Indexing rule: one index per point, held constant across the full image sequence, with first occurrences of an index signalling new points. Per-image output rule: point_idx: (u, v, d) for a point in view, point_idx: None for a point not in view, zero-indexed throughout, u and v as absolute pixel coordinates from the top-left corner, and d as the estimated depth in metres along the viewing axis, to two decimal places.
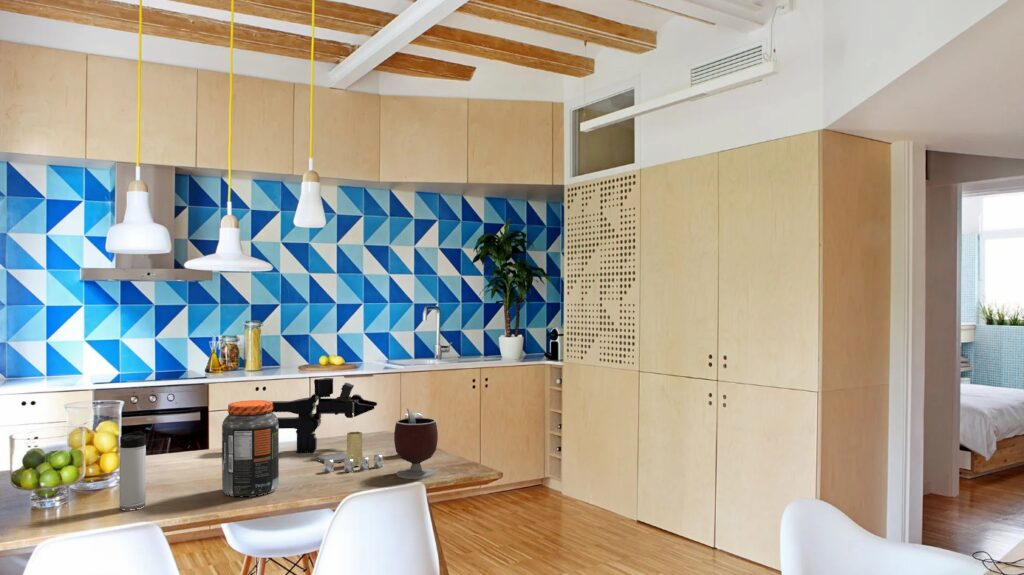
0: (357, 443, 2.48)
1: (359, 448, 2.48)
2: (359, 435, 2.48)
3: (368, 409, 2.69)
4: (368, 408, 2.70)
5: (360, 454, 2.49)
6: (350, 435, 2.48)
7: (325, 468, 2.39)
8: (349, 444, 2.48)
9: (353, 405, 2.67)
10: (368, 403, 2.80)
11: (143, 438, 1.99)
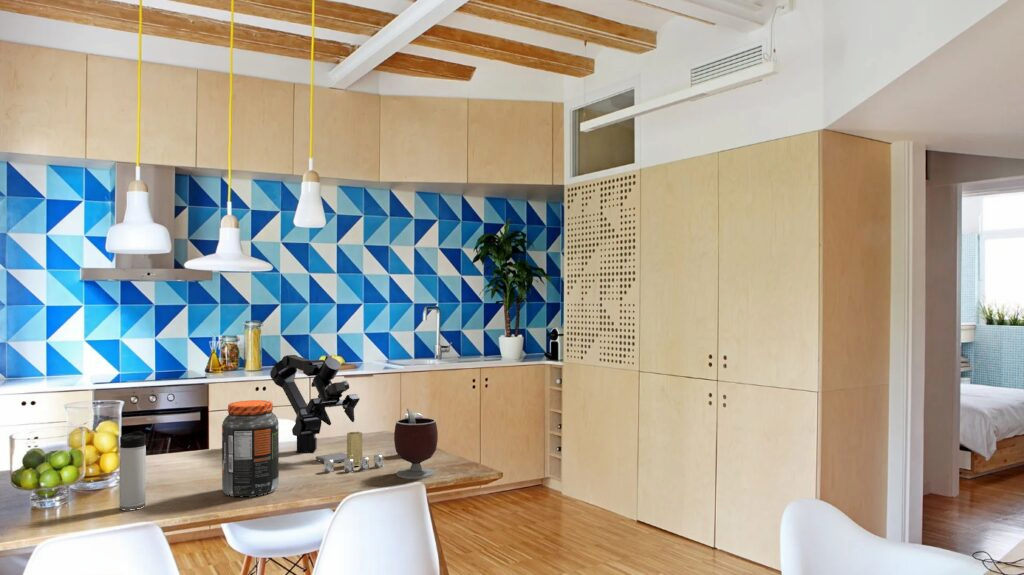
0: (357, 443, 2.48)
1: (359, 448, 2.48)
2: (359, 435, 2.48)
3: (325, 421, 2.53)
4: (326, 420, 2.53)
5: (360, 454, 2.49)
6: (350, 435, 2.48)
7: (325, 468, 2.39)
8: (349, 444, 2.48)
9: (315, 407, 2.53)
10: (350, 414, 2.61)
11: (143, 438, 1.99)
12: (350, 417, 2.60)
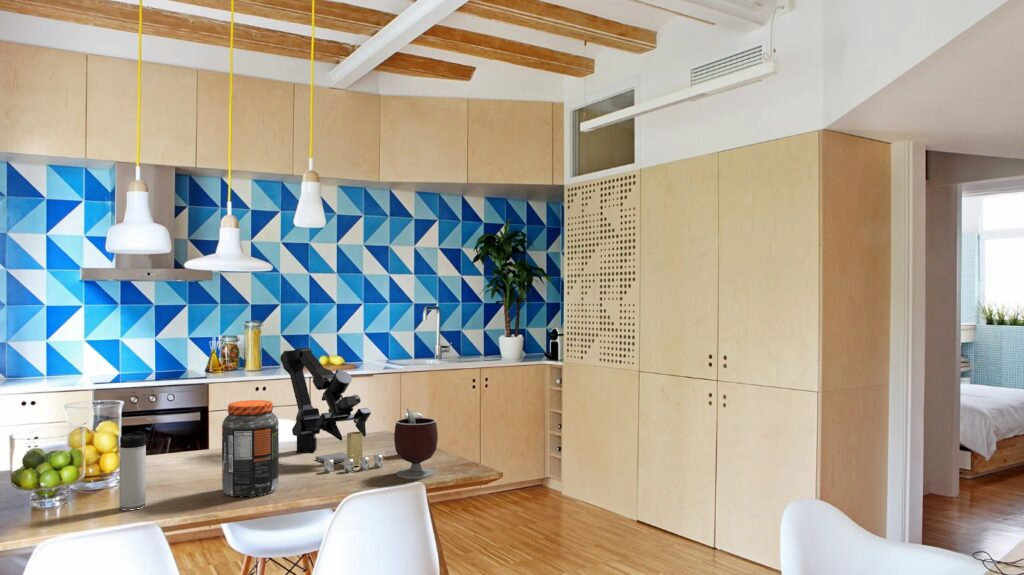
0: (357, 443, 2.48)
1: (359, 448, 2.48)
2: (359, 435, 2.48)
3: (336, 436, 2.48)
4: (337, 435, 2.48)
5: (360, 454, 2.49)
6: (350, 435, 2.48)
7: (325, 468, 2.39)
8: (349, 444, 2.48)
9: (326, 421, 2.48)
10: (361, 428, 2.55)
11: (143, 438, 1.99)
12: None
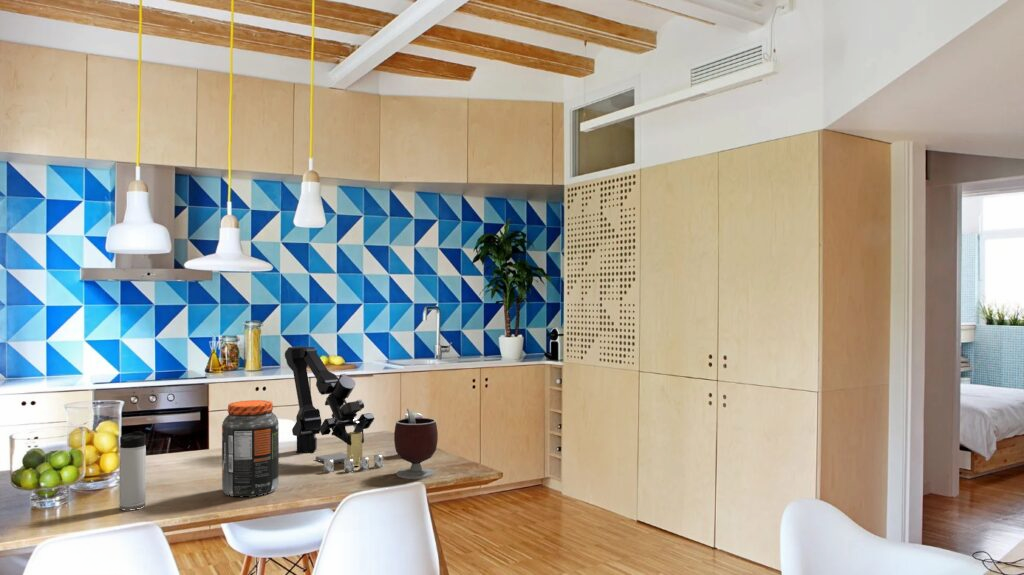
0: (357, 443, 2.48)
1: (359, 448, 2.48)
2: (359, 435, 2.48)
3: (345, 441, 2.48)
4: (346, 440, 2.48)
5: (360, 454, 2.49)
6: (350, 435, 2.48)
7: (325, 468, 2.39)
8: None
9: (335, 426, 2.48)
10: None
11: (143, 438, 1.99)
12: None
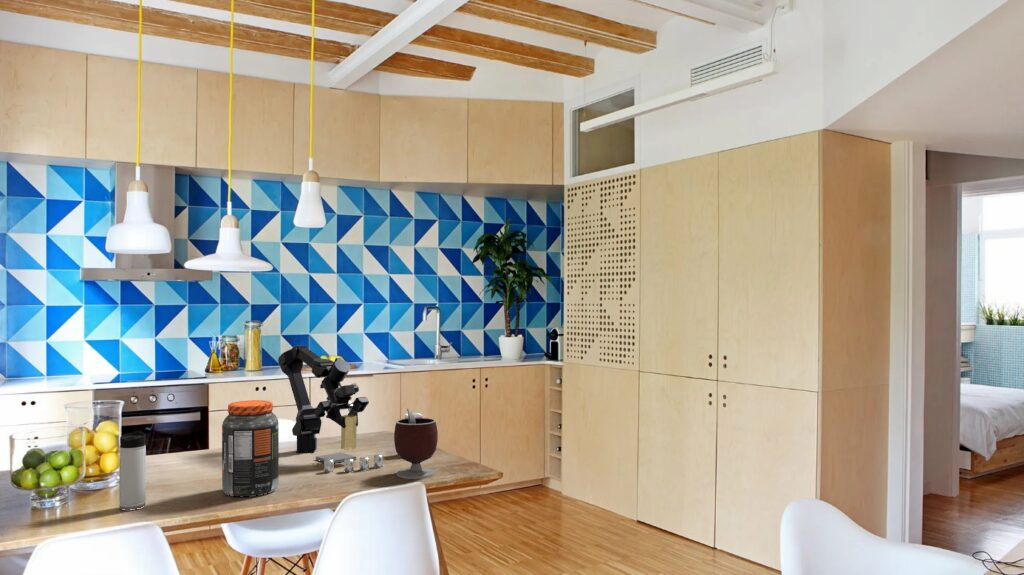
0: (351, 426, 2.50)
1: (353, 431, 2.51)
2: (353, 418, 2.51)
3: (340, 424, 2.50)
4: (341, 423, 2.50)
5: (355, 437, 2.52)
6: (344, 418, 2.50)
7: (325, 468, 2.39)
8: None
9: (330, 409, 2.50)
10: None
11: (143, 438, 1.99)
12: None
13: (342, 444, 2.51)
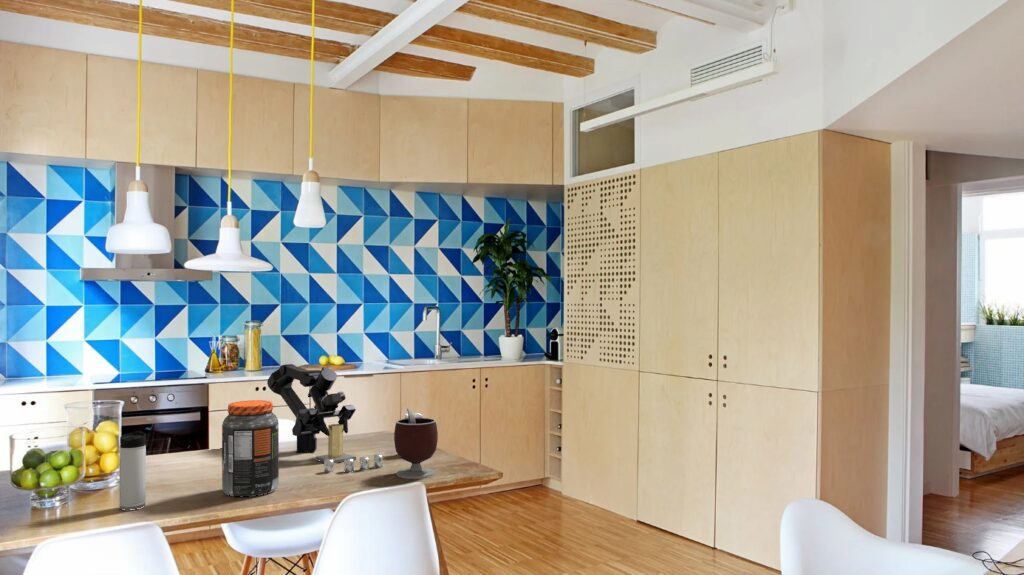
0: (338, 435, 2.56)
1: (340, 439, 2.57)
2: (340, 427, 2.57)
3: (324, 432, 2.56)
4: (325, 431, 2.55)
5: (341, 445, 2.58)
6: (331, 427, 2.56)
7: (325, 468, 2.39)
8: (330, 436, 2.57)
9: (314, 417, 2.55)
10: (343, 425, 2.62)
11: (143, 438, 1.99)
12: (344, 428, 2.61)
13: (329, 452, 2.57)
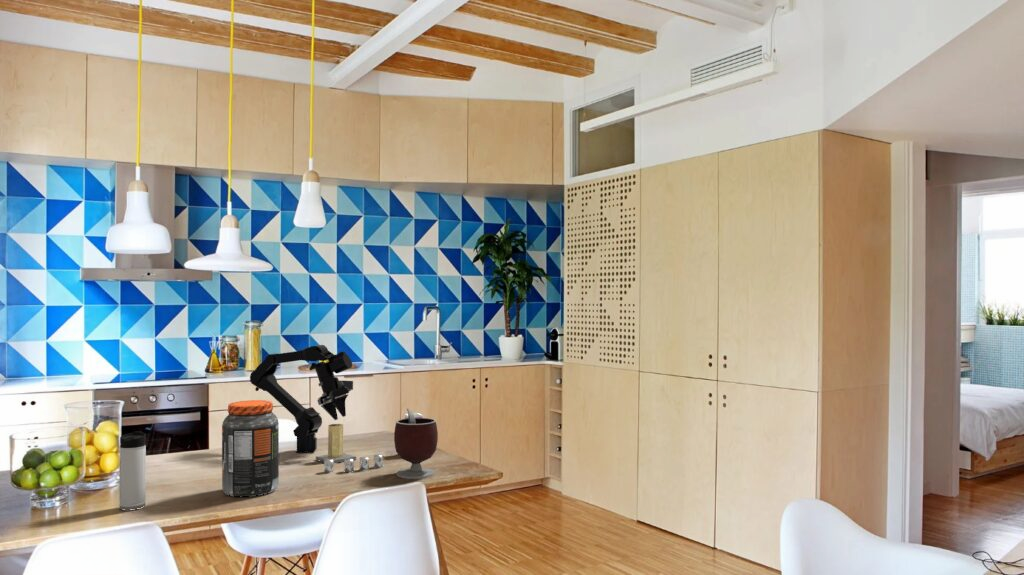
0: (338, 435, 2.56)
1: (340, 439, 2.57)
2: (340, 427, 2.57)
3: (341, 411, 2.65)
4: (342, 411, 2.66)
5: (341, 445, 2.58)
6: (331, 427, 2.56)
7: (325, 468, 2.39)
8: (330, 436, 2.57)
9: (344, 395, 2.65)
10: (333, 411, 2.74)
11: (143, 438, 1.99)
12: (333, 414, 2.73)
13: (329, 452, 2.57)
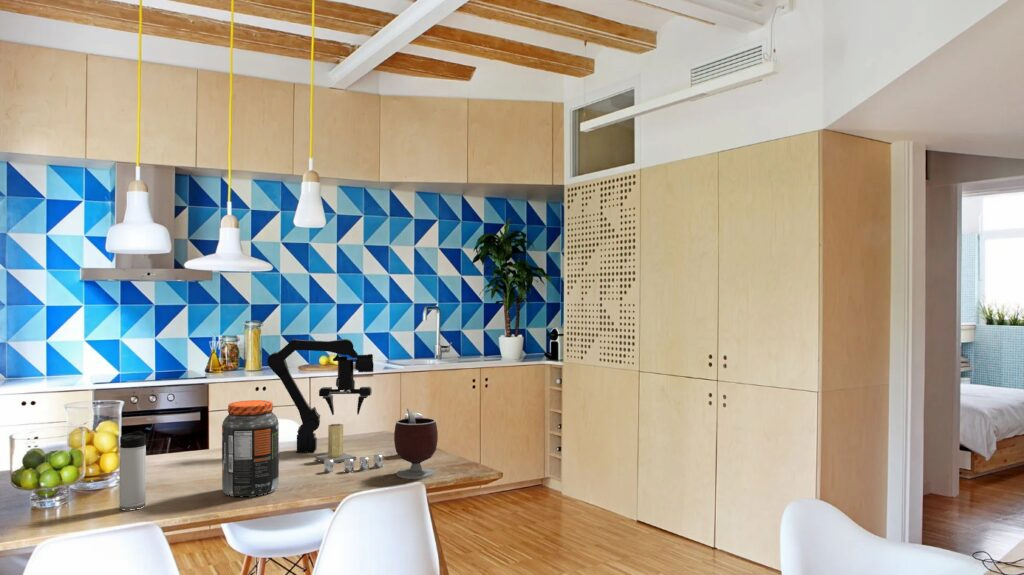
0: (338, 435, 2.56)
1: (340, 439, 2.57)
2: (340, 427, 2.57)
3: (359, 409, 2.76)
4: (359, 409, 2.76)
5: (341, 445, 2.58)
6: (331, 427, 2.56)
7: (325, 468, 2.39)
8: (330, 436, 2.57)
9: None
10: (332, 406, 2.76)
11: (143, 438, 1.99)
12: (333, 409, 2.75)
13: (329, 452, 2.57)
